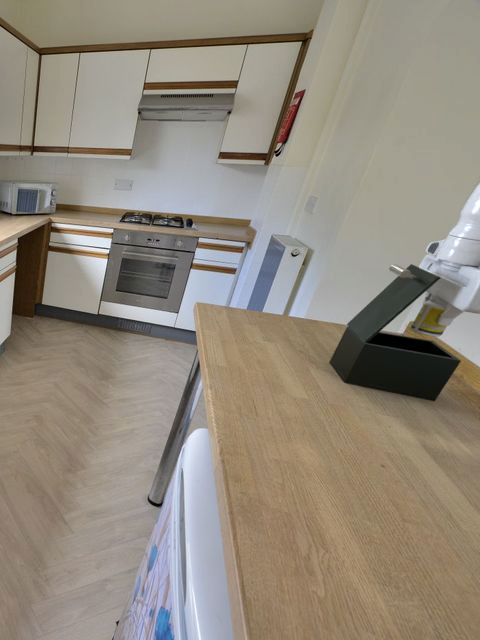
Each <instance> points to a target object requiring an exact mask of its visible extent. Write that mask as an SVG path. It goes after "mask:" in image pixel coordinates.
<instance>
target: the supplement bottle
mask: <svg viewBox="0 0 480 640" xmlns="http://www.w3.org/2000/svg"><path fill="white" fill-rule="evenodd" d="M447 305H448V303H447V302H445V301H443V300H441V299H440V298H439V297H438V295H437V294H435V293H433V294H432V295H431V297H430V301H426V302H425V303H424V305H423V304H422V306H421V308H420V310H419V312H418V313H417V315H416V316H415V319H414V320H413V322H412V324H411V325H410V328H409V329H410V330H411V331H413V332H414V333H417V334H420V335H423V336H428V337H435V338H436V337H438V338H439V337H442V335H443V334H444V332H445V330H446V329H447V327H448V326H444V325H439V324H438V323H436V322H435V319H436V318H437V316H438V314H440V315H441V314H443V313H444V312H445V311H446V310H447V308H446V306H447Z"/></svg>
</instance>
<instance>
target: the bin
mask: <svg viewBox="0 0 480 640" xmlns="http://www.w3.org/2000/svg"><path fill="white" fill-rule="evenodd" d="M461 363H462V360H461V359H459V358H458V357H456V356H455V355H454V354H453V353H451V352H449V351H448V350H447V349H446V348H444V347H443V346H441V345H440V344H438V343H437V342H436V341H434V340H432V339H431V340H430V339H424V338H419V337H412V336H407V335H401V334H394V333H388V332H383V331H380V332H379V333H378V334H376V335H375V336H374V337H373V338H372V339H371V340H370V341H368V342H367V343H366V342H364V341H363V340H362V339H361V338H360V337H359V336H358V335H357V334H356V333H355V332H354V331H353V330H352V329H351V328H350V327H349V326H346V328H345V330H344V332H343V333H342V336H341V338H340V340H339V342H338V344H337V346H336V348H335V349H334V351H333V353H332V356H331V358H330V360H329V364H330V366H331V367H332V368H333V370H334V371H335V373H336V374H337V375H338V377H339V378H340V379H341V381H342V382H343V383H344V384H349V385H354V386H359V387H363V388H364V387H365V388H367V389H374V390H379V391H383V392H388V393H393V394H397V395H402V396H407V397H413V398H416V399H417V398H418V399H422V400H428V401H431V402H436V400H437V398H438V397H439V396H440V394H441V393H442V391H443V390H444V388H445V386H446V385H447V383H448V382H449V380H450V379H451V377H452V376H453V374H454V372H455V371H456V370H457V368H458V366H459V365H460V364H461Z"/></svg>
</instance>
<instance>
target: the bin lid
mask: <svg viewBox="0 0 480 640" xmlns="http://www.w3.org/2000/svg"><path fill="white" fill-rule="evenodd" d="M388 270H389V272H391V273H393V274H395V275H397V277H395V278H394V279H393V280H392V281H391V282H390V283H389V284H388V285H387V286H386V287H385V288H384V289H383V290H382V291H380V293H378V294H377V295H376V296H375V297H374V298H373V299H372V300H371V301H370V302H369V303H367V305H366V306H364V307H363V308H362V309H361V310H360V311H359V312H358V313H357V314H356V315H354V317H353V318H352V319H351V320H350V321H348V323H346V325H347V327H350V328H351V329H352V330H353V331H354V332H355V333H356V334H357V335H358V336H359V337H360V338H361V339H362V340H363V341H364V342H366V343H367V342H368V341H370V340H371V339H372V338H373V337H374V336H375V335H376V334H378V333H379V332H382V331H383V330H384V329H385V328H386V327H387V326H388V325H389V324H390V323H392V322H393V320H395V319H396V318H397V317H398V316H400V314H401V313H403V312H404V311H405V310H406V309H407V308H409V306H411V305H412V304H413V303H414V302H415V301H416V300H418V299H419V298H420V297H421V296H422V295H423V294H425V293H426V291H427V290H428V289H429V288H430V287H431V286H432V285H433V284H435V283H436V282H437V281H438V280H439V279H440V278H441V277H438V276H436V275H434V274H432V273H430V272H428V271H425V270H423V269H421V268H419V266H417V265H415V264H412V263H410V265H408V266H407V267H406V268H404V267H402V266H400V265H398V264H392V265H390V266H389V268H388Z"/></svg>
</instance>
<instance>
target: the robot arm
mask: <svg viewBox="0 0 480 640" xmlns="http://www.w3.org/2000/svg"><path fill="white" fill-rule="evenodd" d="M459 215H460V216H459V220H458V222H457V224H456V225H455V226H454V227H453V228H452V229H451V230H450V231H449V232H448V235H447V236H446V238H445V239H441V240H437V241H432V242H431V241H430V242H429V244H428V245H427V247H426V248H425V253H427V254H426V255H425V256H424V257H423V258H422V260H421V262H420V264H419V266H418V267H419V268H421V269H423V270H425V271H428V272H430V273H432V274H434V275H436V276H438V277H441V278H440V279H439V280H438V281H437V282H436V283H435V284H433V285H432V286H431V287H430V288H429V289H428V290H427V291H425V292H424V295H423V301H422V306H423V305H424V303H425V302H426V301H430V297H431V295H432V294H433V293H435V294H437V295H438V297H439V298H440V299H441V300H443V301H445V302H447V303H448V305H447V306H446V308H447V310H446V311H445V312H444V313H443V314H441V315H440V314H438V316H437V318H436V319H435V322H436V323H438V324H439V325H444V326H447V327H448V326H450V325H451V324H452V323H453V321H454V319H456V318H458V317H459V316H460V315H462V314H464V313H471V314H479V315H480V182H479V183H478V184H477V185H476V187H475V188H474V190H473V191H472V193H471V194H470V196H469V197H468V199H467V200H466V203H465V204H464V206H463V207H462V209H461V212H460V214H459Z"/></svg>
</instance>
